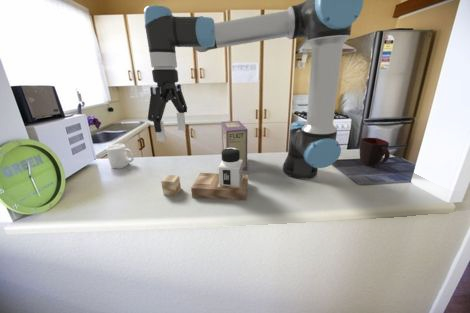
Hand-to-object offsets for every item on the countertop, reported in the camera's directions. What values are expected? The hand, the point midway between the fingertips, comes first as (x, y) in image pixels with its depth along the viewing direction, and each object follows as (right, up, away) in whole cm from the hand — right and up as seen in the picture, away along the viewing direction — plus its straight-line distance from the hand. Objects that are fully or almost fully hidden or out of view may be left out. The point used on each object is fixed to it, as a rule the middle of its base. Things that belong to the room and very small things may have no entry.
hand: (172, 135), depth 70 cm
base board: (+16, -21, +9) cm, 28 cm away
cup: (-35, -12, +33) cm, 49 cm away
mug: (+87, -12, +27) cm, 92 cm away
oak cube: (-3, -21, +9) cm, 23 cm away
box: (+21, -11, +31) cm, 39 cm away
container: (+20, -17, +7) cm, 28 cm away
